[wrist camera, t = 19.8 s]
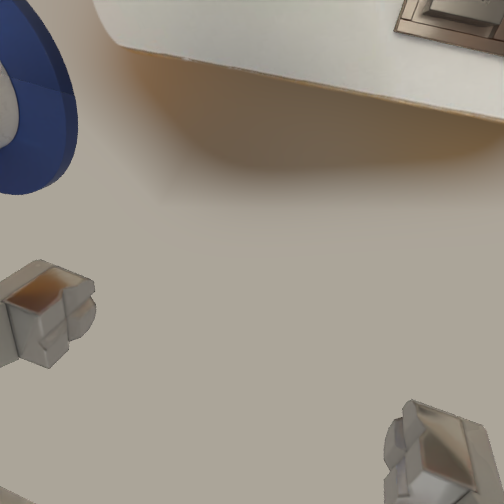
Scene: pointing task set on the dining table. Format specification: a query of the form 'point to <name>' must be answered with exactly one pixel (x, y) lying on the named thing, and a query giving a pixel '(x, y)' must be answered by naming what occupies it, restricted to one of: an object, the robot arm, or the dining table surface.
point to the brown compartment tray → (456, 23)
